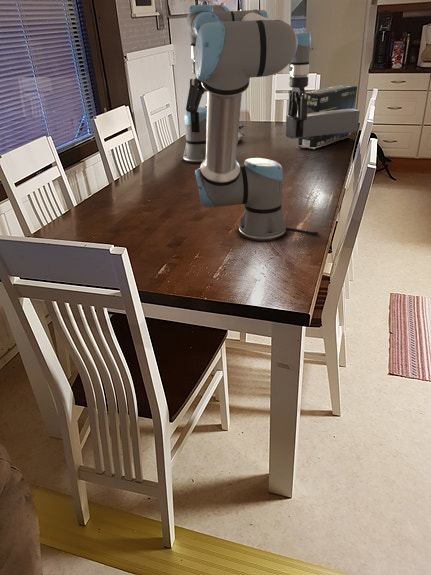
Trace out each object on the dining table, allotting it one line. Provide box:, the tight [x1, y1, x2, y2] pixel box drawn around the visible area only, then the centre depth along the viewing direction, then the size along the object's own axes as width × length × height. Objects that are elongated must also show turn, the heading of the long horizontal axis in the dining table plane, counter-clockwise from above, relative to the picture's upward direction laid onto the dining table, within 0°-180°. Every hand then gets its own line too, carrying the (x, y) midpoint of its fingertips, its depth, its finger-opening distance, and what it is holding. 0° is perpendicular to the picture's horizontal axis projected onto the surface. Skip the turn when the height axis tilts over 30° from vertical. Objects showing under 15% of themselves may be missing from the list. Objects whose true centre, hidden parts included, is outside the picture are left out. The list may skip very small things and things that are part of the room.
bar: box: [285, 108, 361, 140], centre depth 197 cm, size 31×6×8 cm, turn 106°
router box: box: [297, 84, 358, 151], centre depth 238 cm, size 36×11×27 cm, turn 134°
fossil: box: [238, 129, 246, 142], centre depth 254 cm, size 18×11×15 cm
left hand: (296, 135), depth 196 cm, fingers closed on bar, 6 cm apart
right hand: (206, 128), depth 160 cm, fingers open, 13 cm apart
